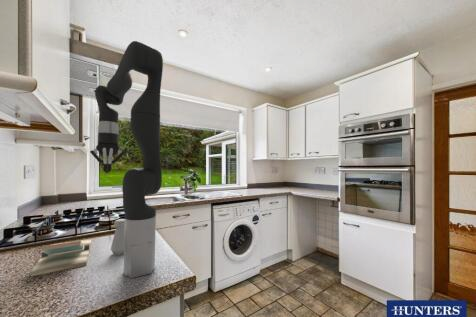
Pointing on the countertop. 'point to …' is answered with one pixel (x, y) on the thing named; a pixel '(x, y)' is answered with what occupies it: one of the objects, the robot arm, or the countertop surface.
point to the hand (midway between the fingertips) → (107, 172)
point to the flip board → (62, 260)
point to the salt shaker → (118, 237)
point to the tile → (62, 247)
